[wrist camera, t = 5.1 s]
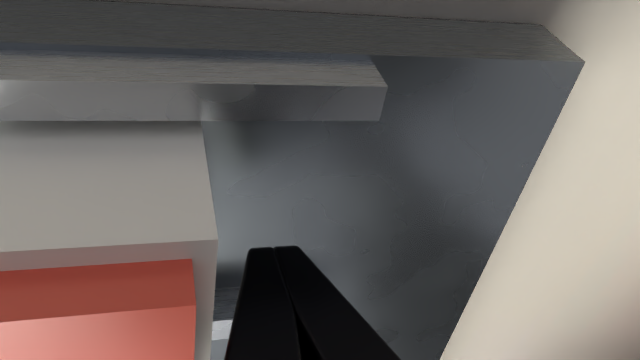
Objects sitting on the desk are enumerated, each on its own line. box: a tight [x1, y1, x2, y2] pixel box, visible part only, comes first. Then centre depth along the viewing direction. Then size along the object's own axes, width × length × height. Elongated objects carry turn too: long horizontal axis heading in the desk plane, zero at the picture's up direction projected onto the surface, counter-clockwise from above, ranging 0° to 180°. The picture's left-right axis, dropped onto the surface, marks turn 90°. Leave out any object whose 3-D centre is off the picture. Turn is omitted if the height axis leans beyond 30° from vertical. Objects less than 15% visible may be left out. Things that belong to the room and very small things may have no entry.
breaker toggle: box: [0, 121, 218, 360], centre depth 8 cm, size 3×4×4 cm
